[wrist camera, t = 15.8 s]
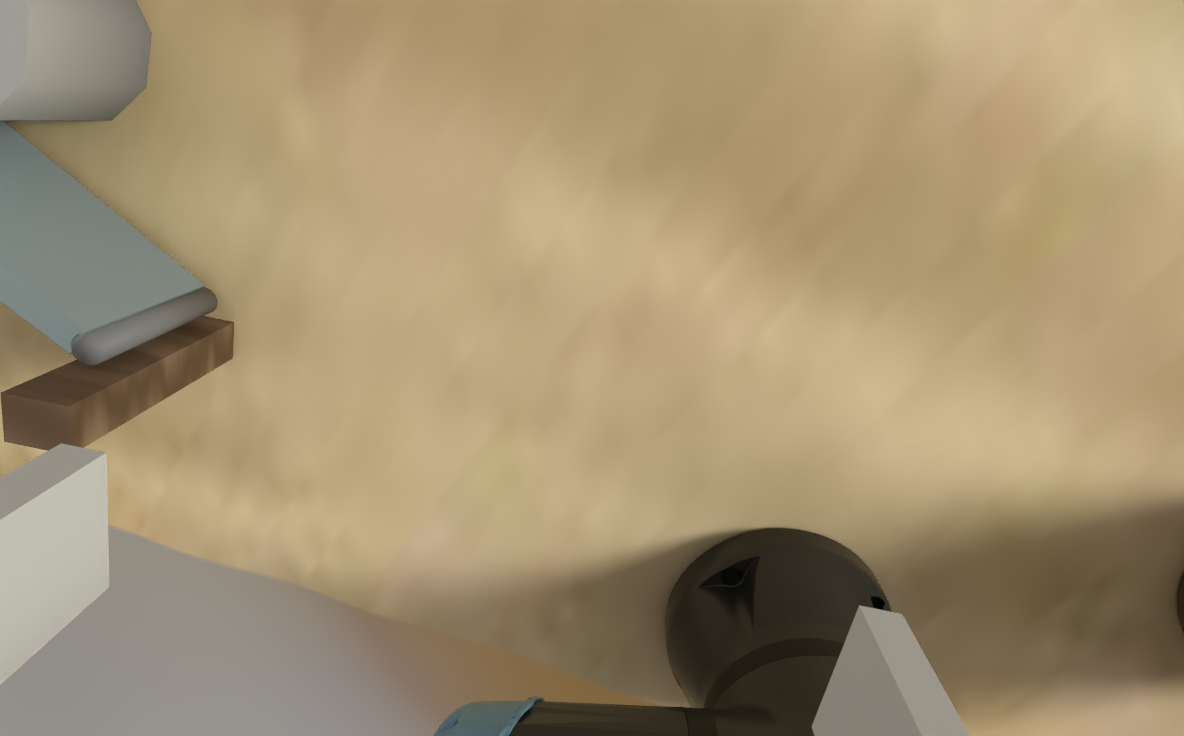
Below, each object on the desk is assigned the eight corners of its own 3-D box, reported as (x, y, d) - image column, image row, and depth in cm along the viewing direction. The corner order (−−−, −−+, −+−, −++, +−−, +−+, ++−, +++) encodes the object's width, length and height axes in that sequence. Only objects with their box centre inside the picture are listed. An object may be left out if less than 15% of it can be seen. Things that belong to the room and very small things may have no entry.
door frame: (232, 358, 46) (70, 455, 32) (185, 348, 45) (4, 441, 32) (260, -343, 34) (26, -639, 21) (197, -357, 34) (-78, -664, 21)
